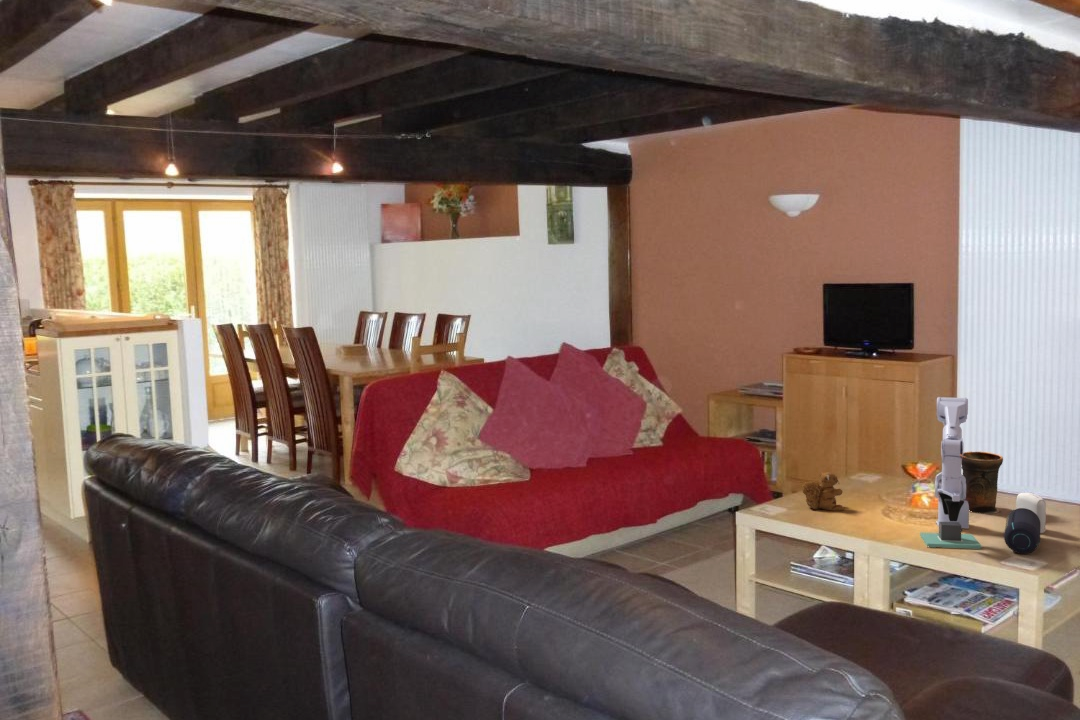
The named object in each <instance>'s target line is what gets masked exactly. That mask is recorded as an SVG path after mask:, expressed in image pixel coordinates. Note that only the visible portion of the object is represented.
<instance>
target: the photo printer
mask: <svg viewBox="0 0 1080 720" xmlns="http://www.w3.org/2000/svg"><path fill="white" fill-rule="evenodd" d="M1015 505H1016V506H1015V507H1016V508H1015V510H1016V509H1018V508H1025V509H1029V510H1031V511H1033V512H1034V513H1035V514H1036V515H1037V516H1038V517H1039V519H1040V524H1041V527H1040V534H1044V533H1045V532H1046V512H1047V511H1046V508H1047V503H1046V500H1045V499H1044V498H1043V497H1041V496H1040V495H1038V494H1035V493H1032V492H1020V493H1019V494H1017V497H1016V504H1015Z"/></svg>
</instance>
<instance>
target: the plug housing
mask: <svg viewBox="0 0 1080 720" xmlns="http://www.w3.org/2000/svg"><path fill="white" fill-rule="evenodd" d="M961 527H962V526H961V524H960V523H959V522H939V526H938V533H939V538H940V539H941V540H951V541H961V534H962V528H961Z"/></svg>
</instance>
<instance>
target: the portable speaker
mask: <svg viewBox="0 0 1080 720" xmlns="http://www.w3.org/2000/svg"><path fill="white" fill-rule="evenodd" d="M1005 521H1006V522H1005V526H1004V527H1005V528H1004V534H1003V538H1004V539H1003V540H1004V543H1005V544H1006V546H1007V547H1008V548H1009V549H1010V550H1012V551H1013V552H1015V553H1017V554H1023V555H1024V554H1030V553H1032V552H1034V551H1036V549H1037V548H1038V546H1039V544H1040V541H1041V533H1040V527H1041V524H1040V519H1039V517H1038V516H1037V515H1036V514H1035V513H1034V512H1033V511H1031V510H1029V509H1025V508H1018V509H1016V508H1015V509H1013V510H1011V511H1010V512H1009V514H1008V515H1007V516H1006V519H1005Z"/></svg>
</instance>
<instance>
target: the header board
mask: <svg viewBox="0 0 1080 720" xmlns="http://www.w3.org/2000/svg"><path fill="white" fill-rule="evenodd" d="M919 536H921V537H920V538H921V540H922V539H923V540H924V541H923V540H922V541H923V543H924V542H925V543H924V544H925V546H926V545H927V546H929V547H928V548H936V547H942V548H943V549H962V550H963V549H968V550H970V549H971V550H982V544H981V543H980V542H979V541H978V540H977V538H976V537H975V536H974V535H973V534H971V533H961V541H951V540H941V539H940V538H939V532H938V533H937V532H919ZM927 546H926V547H927Z"/></svg>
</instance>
